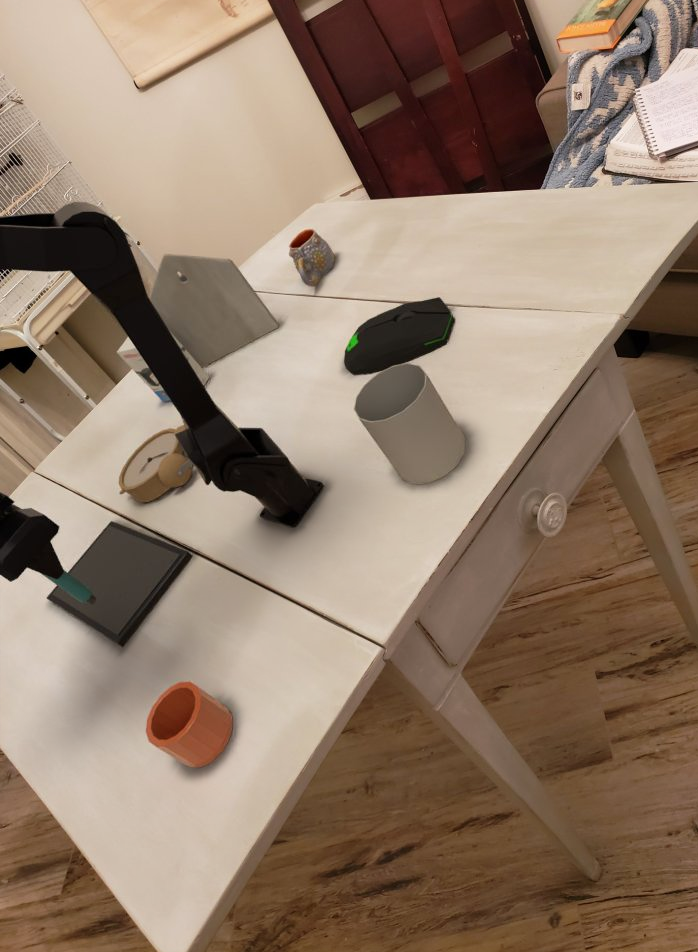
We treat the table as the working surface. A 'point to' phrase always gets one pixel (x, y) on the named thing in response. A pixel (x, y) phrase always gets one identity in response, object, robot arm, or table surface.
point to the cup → (410, 423)
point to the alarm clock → (156, 467)
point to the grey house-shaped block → (208, 306)
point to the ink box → (144, 372)
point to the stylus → (74, 588)
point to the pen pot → (189, 725)
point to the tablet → (121, 580)
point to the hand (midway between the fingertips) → (56, 573)
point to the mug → (311, 256)
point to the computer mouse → (399, 336)
